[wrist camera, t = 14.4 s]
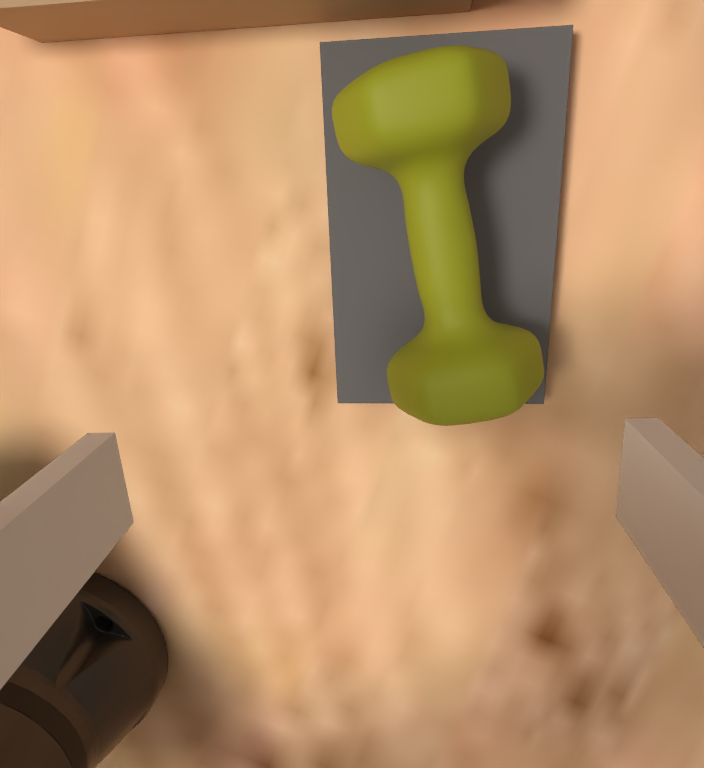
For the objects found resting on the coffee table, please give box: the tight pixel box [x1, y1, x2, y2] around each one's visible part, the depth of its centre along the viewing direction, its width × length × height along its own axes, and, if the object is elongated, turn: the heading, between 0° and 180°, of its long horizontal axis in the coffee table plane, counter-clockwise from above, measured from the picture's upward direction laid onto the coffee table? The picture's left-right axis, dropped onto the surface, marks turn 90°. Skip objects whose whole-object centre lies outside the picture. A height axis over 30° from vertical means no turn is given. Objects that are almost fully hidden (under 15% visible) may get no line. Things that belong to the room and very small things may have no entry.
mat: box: [320, 25, 573, 404], centre depth 31 cm, size 12×19×2 cm, turn 2°
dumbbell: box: [332, 45, 544, 426], centre depth 27 cm, size 16×8×7 cm, turn 12°
